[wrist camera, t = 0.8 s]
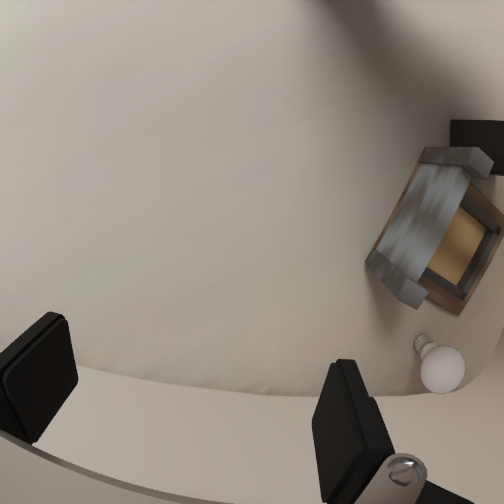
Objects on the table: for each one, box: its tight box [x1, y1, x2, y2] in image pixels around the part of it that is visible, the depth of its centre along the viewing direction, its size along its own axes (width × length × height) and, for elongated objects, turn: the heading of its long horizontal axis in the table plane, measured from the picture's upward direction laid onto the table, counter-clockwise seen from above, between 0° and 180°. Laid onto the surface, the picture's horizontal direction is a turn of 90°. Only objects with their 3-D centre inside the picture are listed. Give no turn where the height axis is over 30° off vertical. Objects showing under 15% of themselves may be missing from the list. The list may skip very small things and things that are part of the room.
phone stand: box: [450, 120, 504, 176], centre depth 27 cm, size 9×6×12 cm, turn 87°
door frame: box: [365, 147, 504, 316], centre depth 31 cm, size 16×18×12 cm
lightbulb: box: [414, 334, 466, 394], centre depth 35 cm, size 6×6×11 cm
